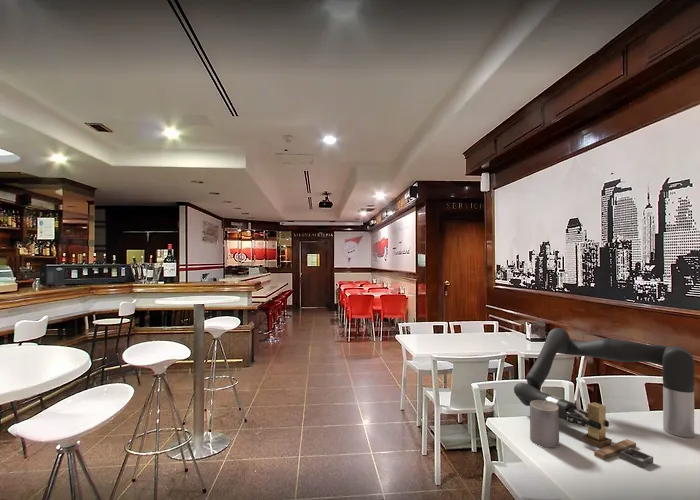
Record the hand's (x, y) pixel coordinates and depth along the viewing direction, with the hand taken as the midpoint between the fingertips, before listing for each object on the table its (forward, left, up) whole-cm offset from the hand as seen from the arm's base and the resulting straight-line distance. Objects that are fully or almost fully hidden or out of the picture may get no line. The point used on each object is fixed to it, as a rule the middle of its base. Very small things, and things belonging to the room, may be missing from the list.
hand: (604, 425), depth 135 cm
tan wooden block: (0, -3, -8) cm, 8 cm away
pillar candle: (+17, -12, -8) cm, 22 cm away
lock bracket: (0, +4, -8) cm, 8 cm away
